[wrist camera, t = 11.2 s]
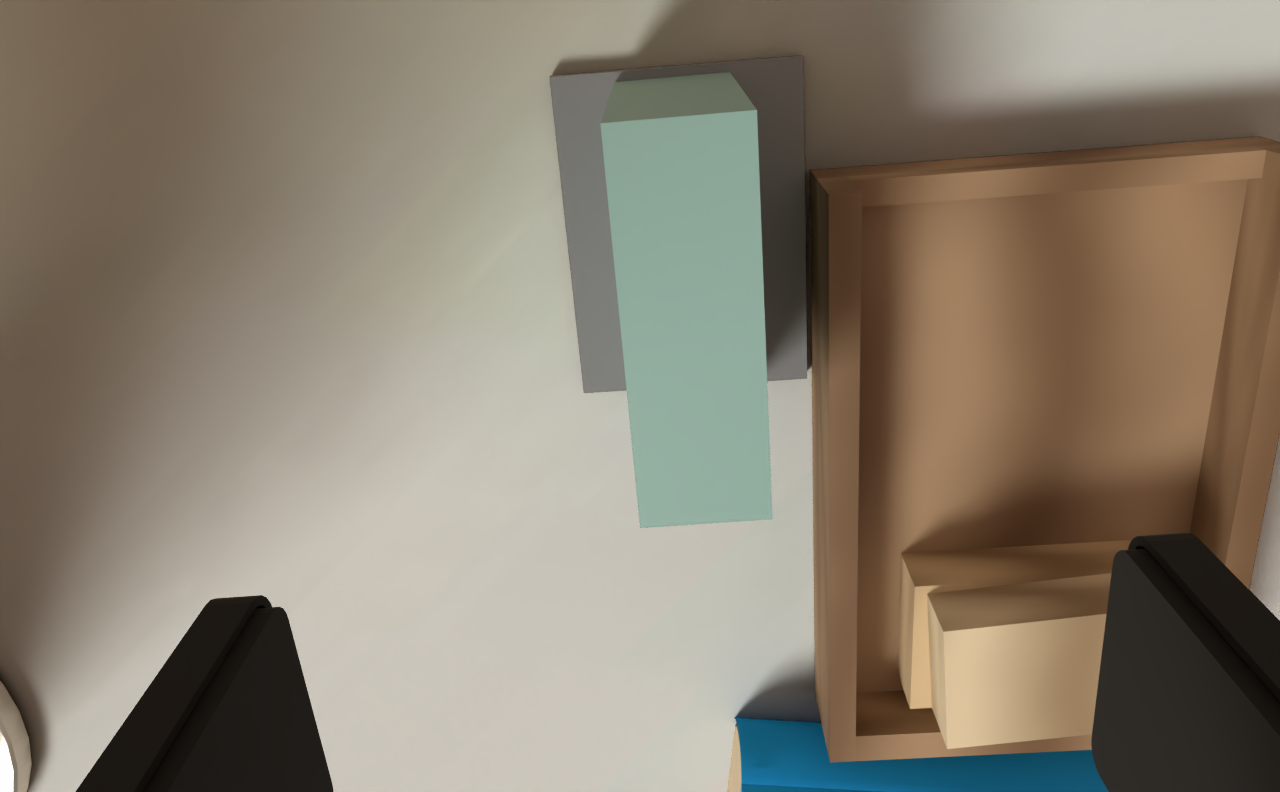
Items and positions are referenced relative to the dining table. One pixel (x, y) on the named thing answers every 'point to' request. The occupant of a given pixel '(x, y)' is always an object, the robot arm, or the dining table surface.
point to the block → (690, 295)
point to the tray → (1030, 381)
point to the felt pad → (781, 197)
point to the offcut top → (1017, 660)
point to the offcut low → (978, 571)
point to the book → (892, 767)
